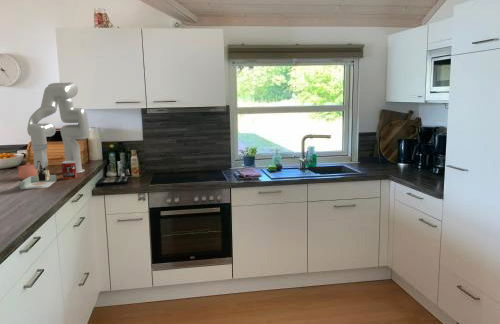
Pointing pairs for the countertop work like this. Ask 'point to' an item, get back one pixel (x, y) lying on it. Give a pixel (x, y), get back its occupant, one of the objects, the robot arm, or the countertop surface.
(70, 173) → the canned food
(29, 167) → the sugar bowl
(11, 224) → the countertop surface
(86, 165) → the countertop surface
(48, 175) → the cube
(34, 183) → the arena
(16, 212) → the countertop surface
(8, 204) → the countertop surface
